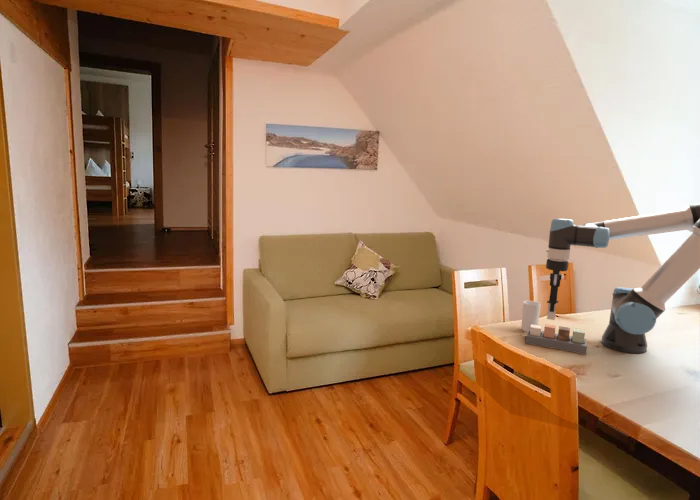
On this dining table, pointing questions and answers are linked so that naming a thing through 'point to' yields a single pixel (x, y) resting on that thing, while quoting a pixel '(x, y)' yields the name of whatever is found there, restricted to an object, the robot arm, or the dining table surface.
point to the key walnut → (563, 333)
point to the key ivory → (535, 330)
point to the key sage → (578, 335)
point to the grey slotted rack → (556, 342)
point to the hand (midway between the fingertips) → (550, 318)
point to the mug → (530, 314)
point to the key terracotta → (549, 331)
